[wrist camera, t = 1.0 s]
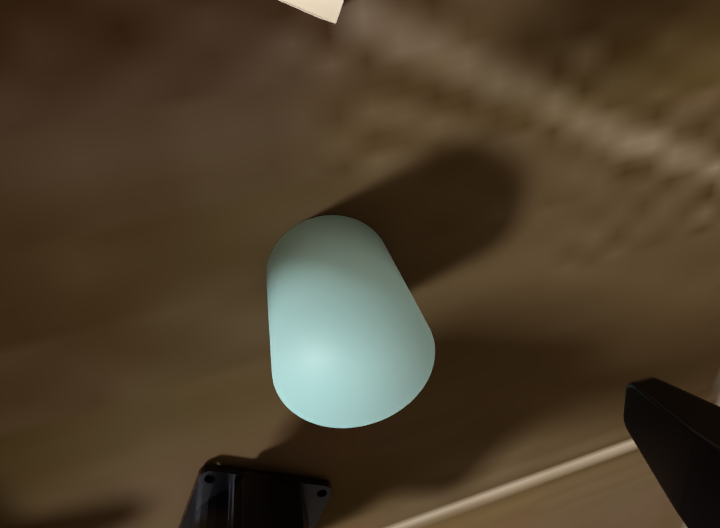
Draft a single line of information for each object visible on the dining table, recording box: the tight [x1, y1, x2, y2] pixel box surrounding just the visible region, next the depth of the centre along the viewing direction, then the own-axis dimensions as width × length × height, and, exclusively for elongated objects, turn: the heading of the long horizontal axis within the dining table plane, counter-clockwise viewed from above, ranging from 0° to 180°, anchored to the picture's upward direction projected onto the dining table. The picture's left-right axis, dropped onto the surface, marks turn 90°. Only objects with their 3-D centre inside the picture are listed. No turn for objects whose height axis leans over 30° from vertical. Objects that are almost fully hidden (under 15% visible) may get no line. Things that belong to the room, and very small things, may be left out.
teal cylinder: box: [266, 215, 435, 428], centre depth 19 cm, size 5×5×6 cm
